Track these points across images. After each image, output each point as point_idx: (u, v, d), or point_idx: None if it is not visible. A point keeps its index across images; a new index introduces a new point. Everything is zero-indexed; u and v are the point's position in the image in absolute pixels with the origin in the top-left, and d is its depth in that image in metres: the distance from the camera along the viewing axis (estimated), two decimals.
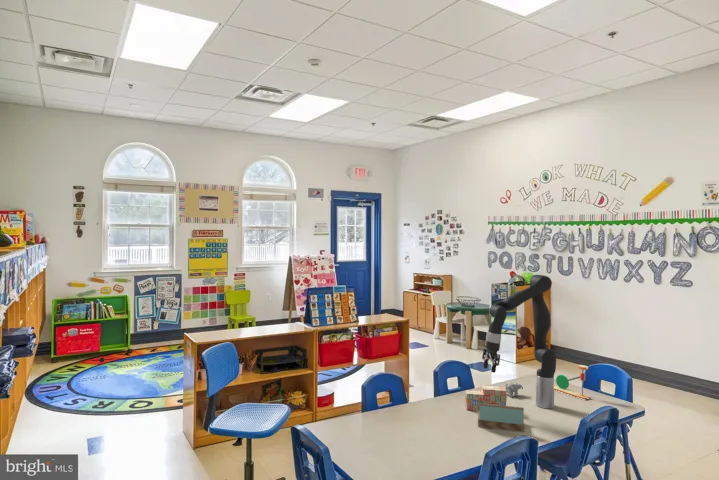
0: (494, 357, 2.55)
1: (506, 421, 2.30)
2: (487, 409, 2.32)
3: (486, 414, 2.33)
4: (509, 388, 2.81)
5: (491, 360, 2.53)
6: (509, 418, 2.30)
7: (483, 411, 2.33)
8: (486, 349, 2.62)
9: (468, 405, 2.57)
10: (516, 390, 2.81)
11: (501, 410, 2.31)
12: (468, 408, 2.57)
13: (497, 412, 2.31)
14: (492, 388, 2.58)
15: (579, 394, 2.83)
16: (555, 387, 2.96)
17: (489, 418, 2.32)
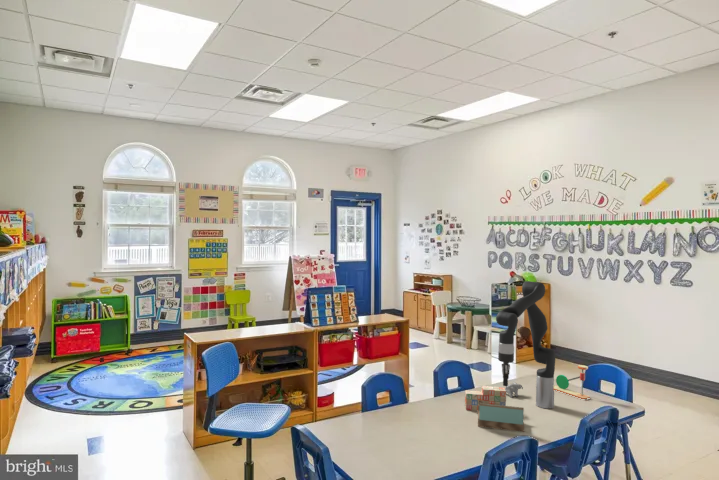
0: None
1: (506, 421, 2.30)
2: (487, 409, 2.32)
3: (486, 414, 2.33)
4: (509, 388, 2.81)
5: (502, 373, 2.35)
6: (509, 418, 2.30)
7: (483, 411, 2.33)
8: None
9: (467, 405, 2.57)
10: (516, 390, 2.81)
11: (501, 410, 2.31)
12: (467, 408, 2.57)
13: (497, 412, 2.31)
14: (492, 388, 2.57)
15: (579, 394, 2.83)
16: (555, 387, 2.96)
17: (489, 418, 2.32)
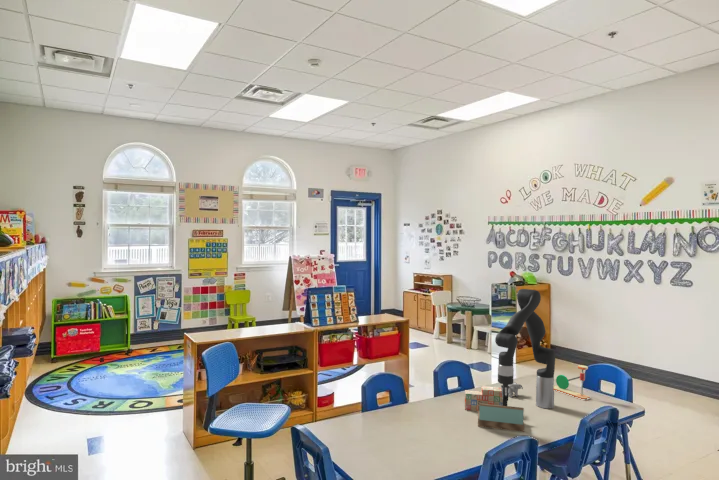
0: None
1: (506, 421, 2.30)
2: (487, 409, 2.32)
3: (486, 414, 2.33)
4: None
5: None
6: (509, 418, 2.30)
7: (483, 411, 2.33)
8: None
9: (467, 405, 2.57)
10: (516, 390, 2.81)
11: (501, 410, 2.31)
12: (467, 408, 2.57)
13: (497, 413, 2.31)
14: (491, 388, 2.57)
15: (579, 394, 2.83)
16: (555, 387, 2.96)
17: (489, 418, 2.32)
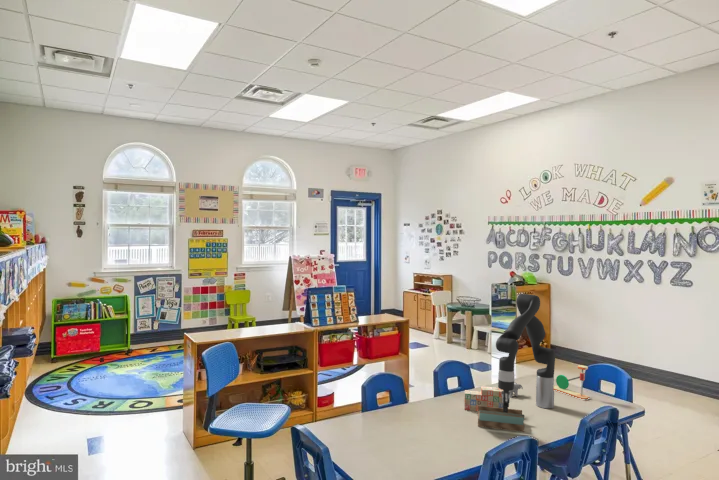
0: (506, 398, 2.26)
1: (506, 422, 2.30)
2: (487, 415, 2.29)
3: (486, 417, 2.31)
4: None
5: (502, 401, 2.27)
6: (509, 421, 2.28)
7: (483, 416, 2.30)
8: None
9: (466, 405, 2.57)
10: (516, 390, 2.81)
11: (501, 416, 2.27)
12: (466, 408, 2.58)
13: (497, 417, 2.29)
14: (491, 389, 2.57)
15: (579, 394, 2.83)
16: (555, 387, 2.96)
17: (489, 419, 2.32)
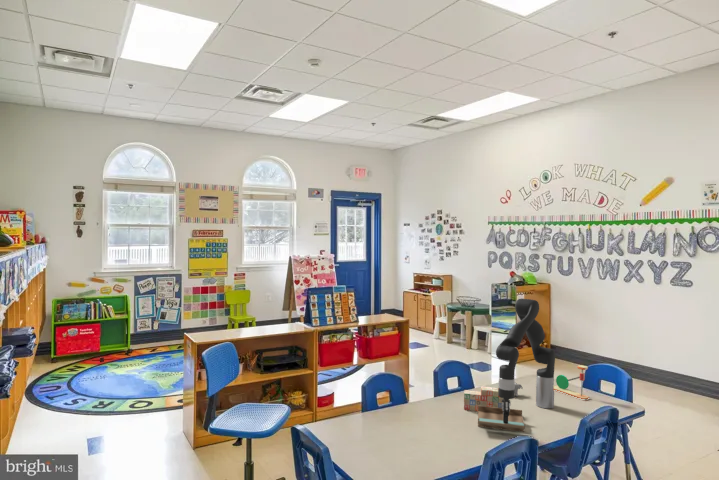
0: None
1: None
2: None
3: None
4: None
5: None
6: None
7: None
8: None
9: (465, 405, 2.58)
10: (516, 390, 2.81)
11: None
12: (465, 408, 2.58)
13: None
14: (490, 389, 2.56)
15: (578, 394, 2.83)
16: (555, 387, 2.96)
17: None
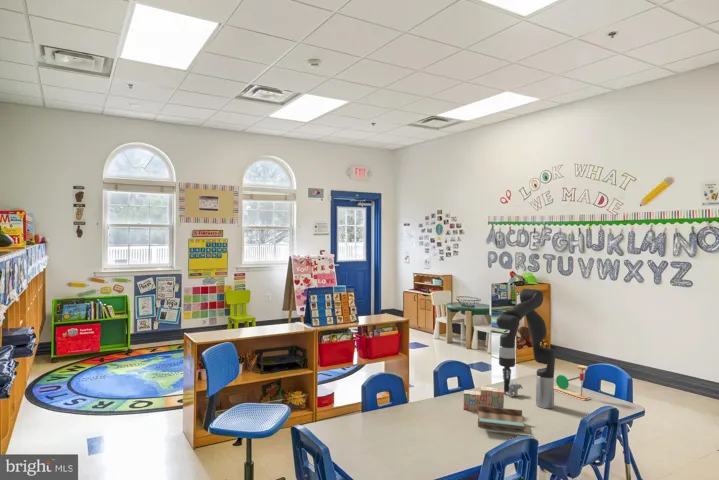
0: None
1: None
2: None
3: None
4: (509, 388, 2.81)
5: (503, 378, 2.26)
6: None
7: None
8: None
9: (465, 405, 2.58)
10: (516, 390, 2.81)
11: None
12: (465, 408, 2.58)
13: None
14: (490, 389, 2.56)
15: (578, 394, 2.83)
16: (555, 387, 2.96)
17: None
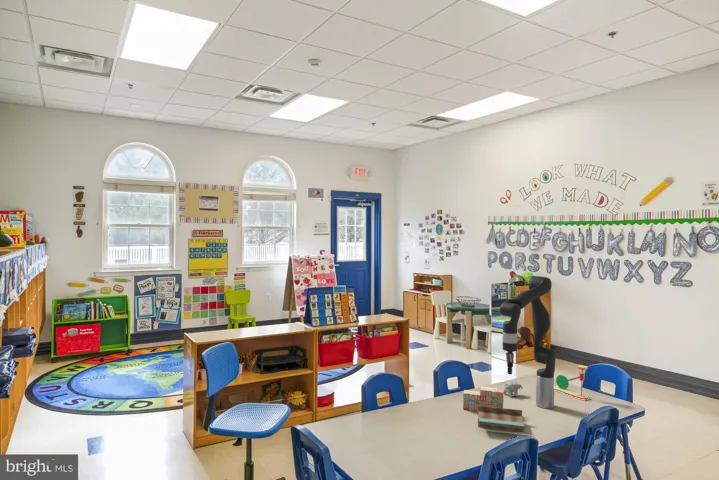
0: None
1: None
2: None
3: None
4: (509, 388, 2.81)
5: None
6: None
7: None
8: None
9: (464, 404, 2.58)
10: (516, 390, 2.81)
11: None
12: (464, 407, 2.58)
13: None
14: (489, 389, 2.56)
15: (578, 394, 2.83)
16: (555, 387, 2.96)
17: None
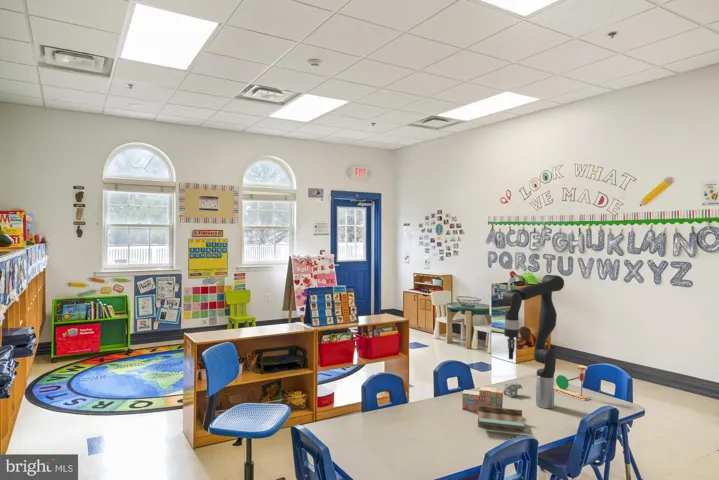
0: None
1: None
2: None
3: None
4: (509, 388, 2.81)
5: (508, 347, 2.56)
6: None
7: None
8: None
9: (464, 404, 2.58)
10: (516, 390, 2.81)
11: None
12: (464, 407, 2.58)
13: None
14: (489, 389, 2.56)
15: (578, 394, 2.83)
16: (555, 387, 2.96)
17: None
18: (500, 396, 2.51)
